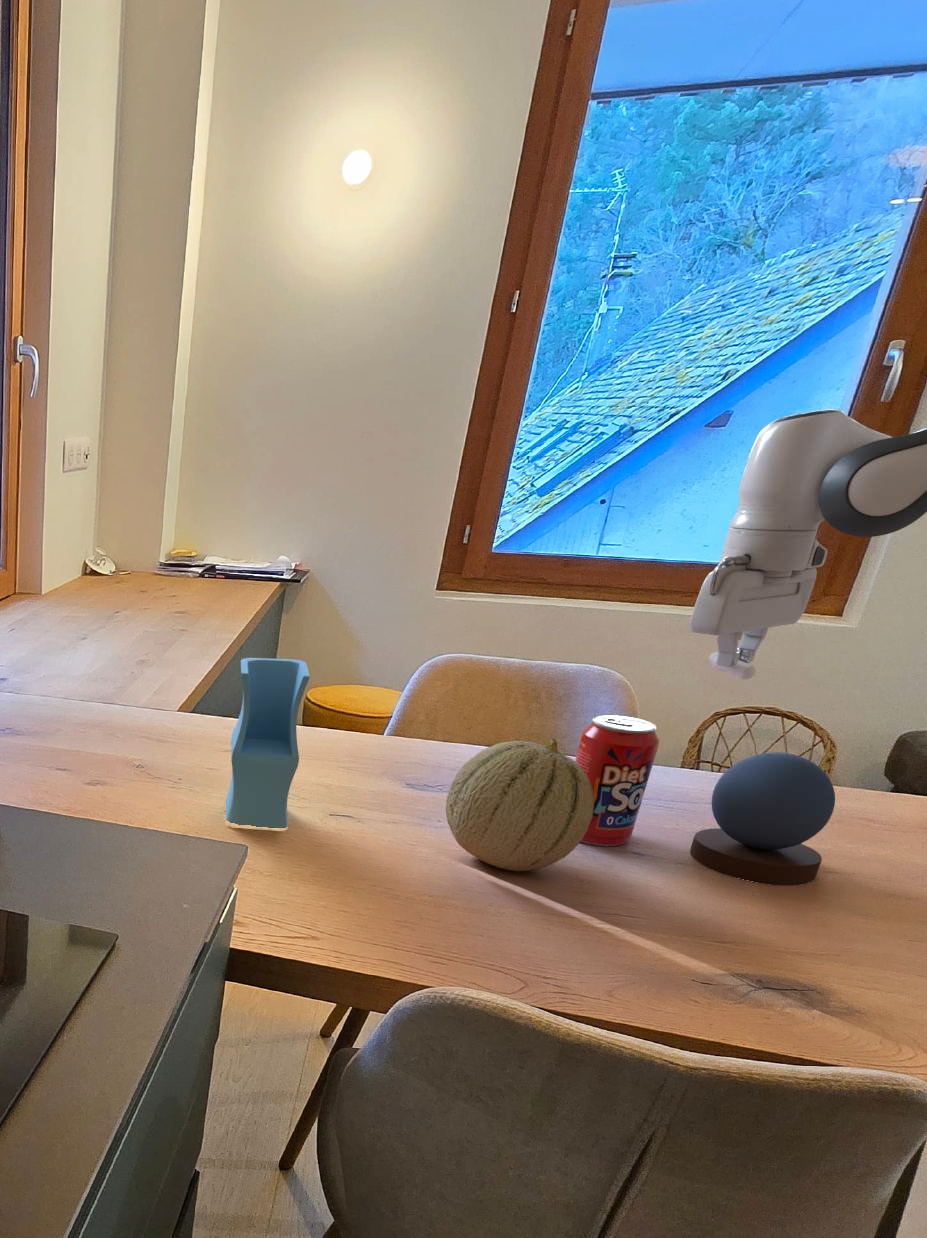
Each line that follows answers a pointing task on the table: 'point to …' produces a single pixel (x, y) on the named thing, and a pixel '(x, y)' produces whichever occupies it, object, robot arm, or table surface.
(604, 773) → the soda can
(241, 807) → the vase
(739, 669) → the small white plastic part
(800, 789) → the blue egg sculpture
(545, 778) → the cantaloupe
